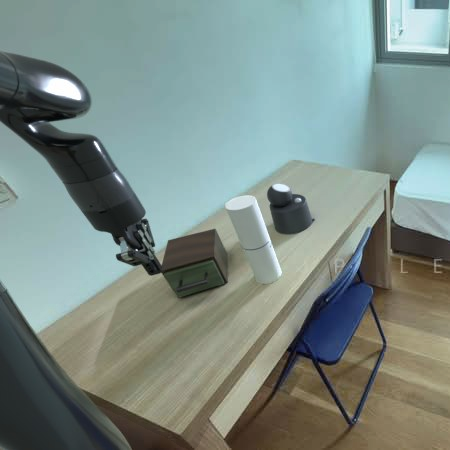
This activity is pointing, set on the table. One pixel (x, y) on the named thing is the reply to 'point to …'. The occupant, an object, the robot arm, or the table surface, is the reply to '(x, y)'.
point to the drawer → (194, 278)
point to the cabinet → (195, 252)
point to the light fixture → (288, 210)
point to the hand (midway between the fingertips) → (156, 272)
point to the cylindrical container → (254, 238)
